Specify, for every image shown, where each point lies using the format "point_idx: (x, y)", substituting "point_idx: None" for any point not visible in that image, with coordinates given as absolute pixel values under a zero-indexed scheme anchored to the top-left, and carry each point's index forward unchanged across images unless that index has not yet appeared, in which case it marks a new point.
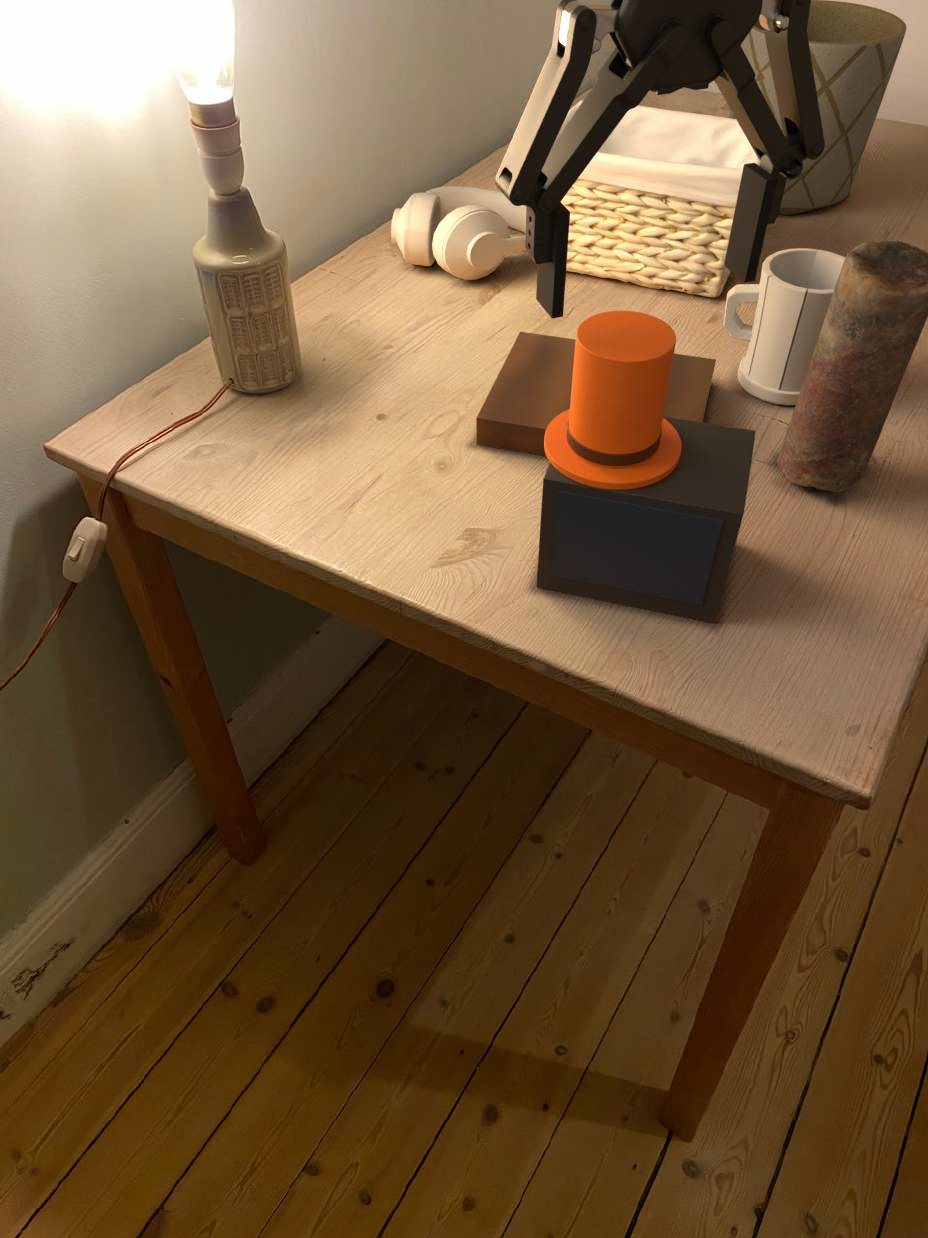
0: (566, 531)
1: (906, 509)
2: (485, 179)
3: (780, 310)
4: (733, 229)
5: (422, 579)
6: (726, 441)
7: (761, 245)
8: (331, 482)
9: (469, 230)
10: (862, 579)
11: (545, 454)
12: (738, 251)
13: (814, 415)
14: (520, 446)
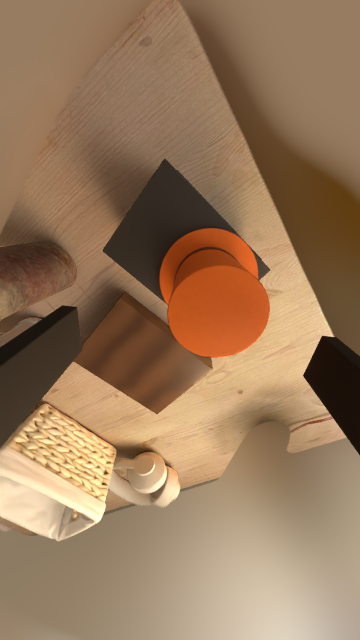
0: None
1: (17, 215)
2: (112, 501)
3: None
4: (55, 376)
5: (291, 286)
6: (129, 248)
7: (32, 326)
8: (286, 363)
9: (150, 478)
10: (72, 172)
11: None
12: (64, 344)
13: (44, 272)
14: None
